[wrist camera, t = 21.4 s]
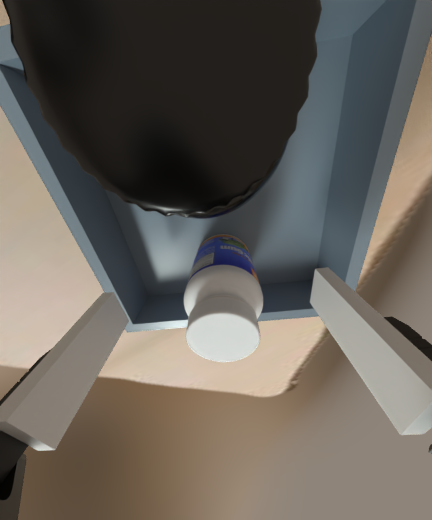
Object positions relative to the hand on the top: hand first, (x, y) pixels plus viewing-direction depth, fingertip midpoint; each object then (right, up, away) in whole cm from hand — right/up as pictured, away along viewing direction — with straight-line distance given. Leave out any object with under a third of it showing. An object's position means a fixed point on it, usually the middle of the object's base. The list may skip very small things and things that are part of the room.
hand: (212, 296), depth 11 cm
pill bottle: (+1, +3, +6) cm, 7 cm away
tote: (0, +8, +5) cm, 9 cm away
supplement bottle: (0, +11, +2) cm, 11 cm away
